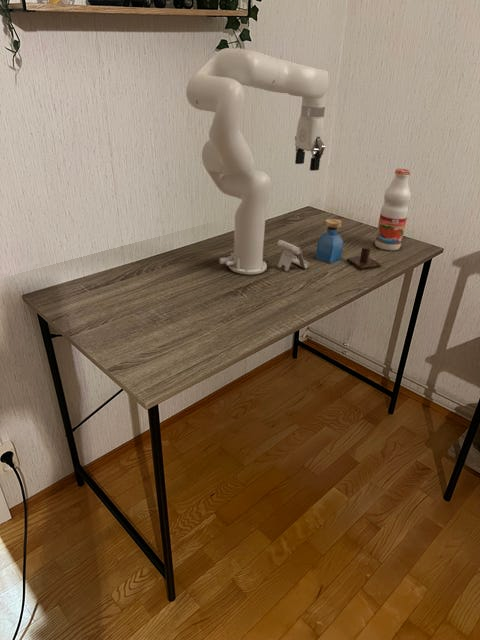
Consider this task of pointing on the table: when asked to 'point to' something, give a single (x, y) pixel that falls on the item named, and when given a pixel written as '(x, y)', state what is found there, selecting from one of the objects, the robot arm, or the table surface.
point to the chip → (333, 223)
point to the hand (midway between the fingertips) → (306, 166)
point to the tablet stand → (291, 256)
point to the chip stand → (363, 260)
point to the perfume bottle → (329, 246)
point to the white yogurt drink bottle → (394, 212)
